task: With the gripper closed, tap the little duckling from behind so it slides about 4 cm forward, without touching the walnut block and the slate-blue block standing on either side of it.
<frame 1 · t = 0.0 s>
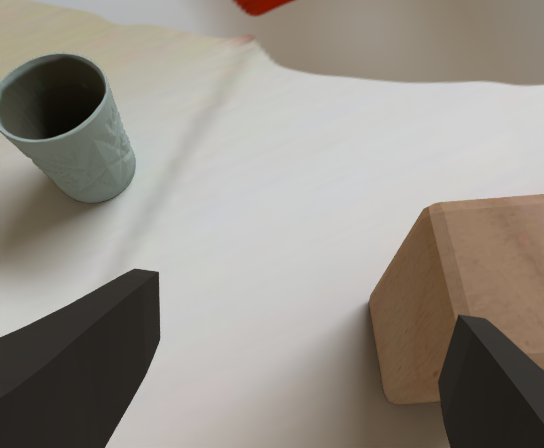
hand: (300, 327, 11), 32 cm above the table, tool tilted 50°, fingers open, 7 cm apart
block: (427, 344, 43), on the table
grey cup: (98, 168, 51), on the table
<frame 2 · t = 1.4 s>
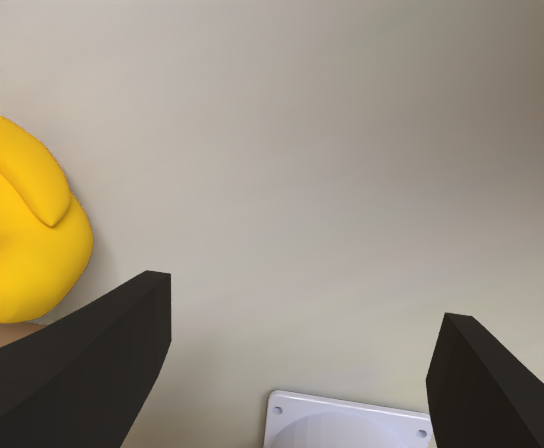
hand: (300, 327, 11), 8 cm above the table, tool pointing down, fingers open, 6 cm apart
walnut block: (9, 356, 25), on the table
duckling: (16, 161, 20), on the table
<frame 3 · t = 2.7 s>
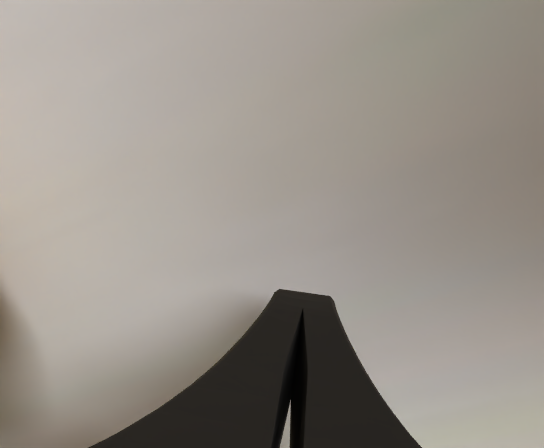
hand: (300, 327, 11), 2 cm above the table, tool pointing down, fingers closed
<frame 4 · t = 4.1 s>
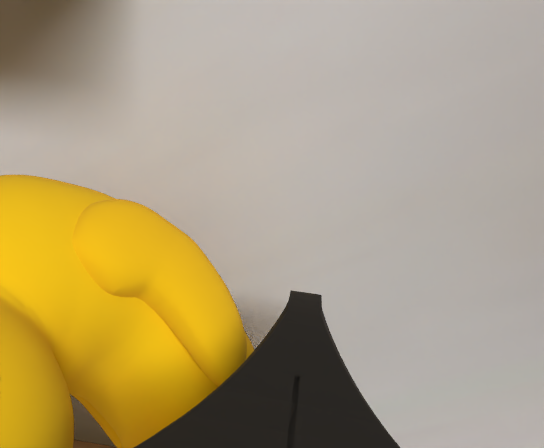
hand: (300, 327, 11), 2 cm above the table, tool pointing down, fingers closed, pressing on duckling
duckling: (136, 251, 14), on the table, touching gripper
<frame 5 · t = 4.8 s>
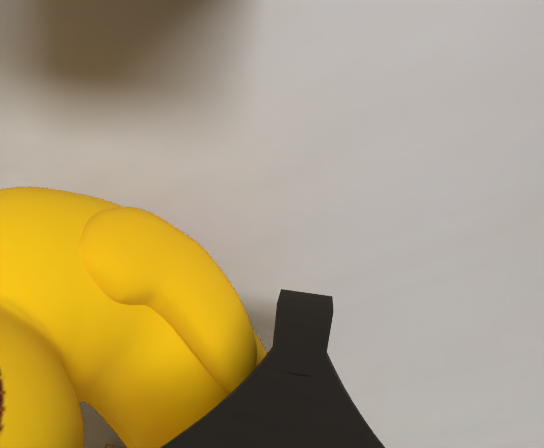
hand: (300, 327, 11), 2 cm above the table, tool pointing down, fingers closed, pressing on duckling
duckling: (146, 257, 14), on the table, touching gripper
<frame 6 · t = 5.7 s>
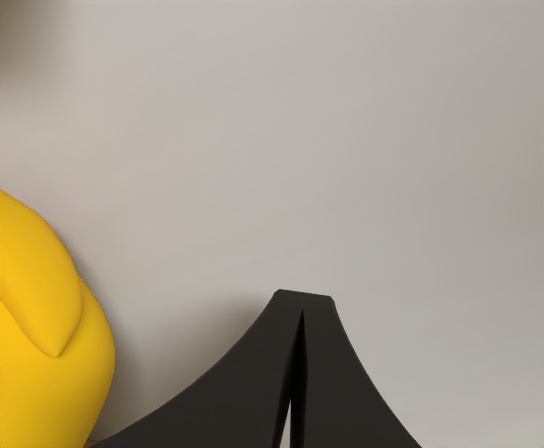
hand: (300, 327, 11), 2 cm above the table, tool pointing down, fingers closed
duckling: (3, 232, 14), on the table
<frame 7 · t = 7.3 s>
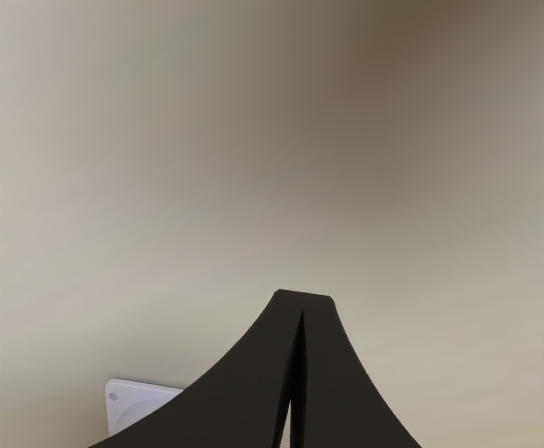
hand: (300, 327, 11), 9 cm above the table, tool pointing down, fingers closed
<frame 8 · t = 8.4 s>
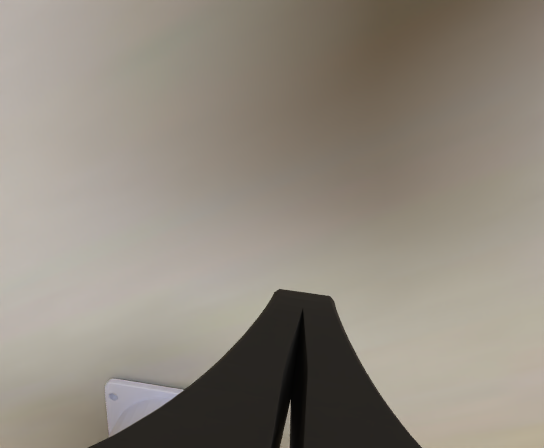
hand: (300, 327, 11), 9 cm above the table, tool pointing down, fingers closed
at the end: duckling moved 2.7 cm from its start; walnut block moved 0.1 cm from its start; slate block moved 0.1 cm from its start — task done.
